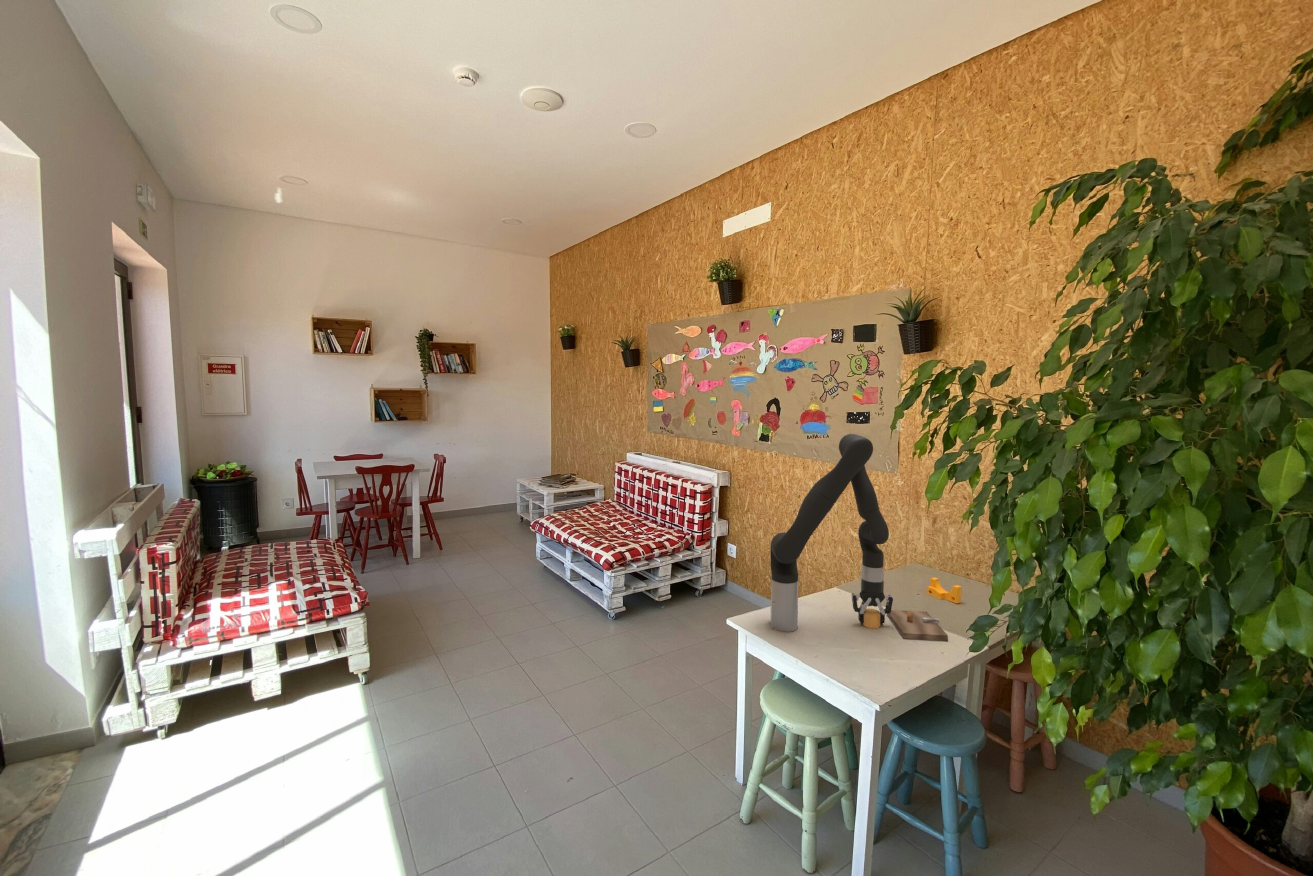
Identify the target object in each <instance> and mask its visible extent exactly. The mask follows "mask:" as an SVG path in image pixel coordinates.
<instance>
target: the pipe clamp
mask: <svg viewBox="0 0 1313 876" xmlns="http://www.w3.org/2000/svg"><path fill="white" fill-rule="evenodd" d="M929 580H930V581H929V585H928V586H926V594H927V595H929V596H932V597H934V598H936V599H938V600H946V601H948V602H951V603H954V604H961V603H962V586H961V585H958V584H956V585H952V588H951V590H950V591H947V590H946V589H944V588H943V587H942V585H941V583H940V578H938V577H936V576H933V577H930V579H929Z"/></svg>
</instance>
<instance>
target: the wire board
mask: <svg viewBox="0 0 1313 876" xmlns="http://www.w3.org/2000/svg"><path fill="white" fill-rule="evenodd" d="M886 616H887V617H888V618H889V620H890V622H891V623H892V625H893V626H894V627H895V629H896V630H897V632H898V633H899V635H900V636H901V638H902V639H904V640H918V641H939V642H948V641H949V635H948V634H947V632H945V630H944V629H943V628H942V627H941V626H940V625H939V624H940V619H939V618H936V617H932V616H931V615H930V613H928V611H920V610H918V611H917V610H903V609H902V610H900V609H898V610H897V609H891V613H890V614H888V613H887V614H886Z"/></svg>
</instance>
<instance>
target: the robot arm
mask: <svg viewBox="0 0 1313 876" xmlns="http://www.w3.org/2000/svg"><path fill="white" fill-rule="evenodd" d="M838 450H839V454H840V455H841V458H840V459H839V461H838V462H837V464H836V465H835V466H834V467H833V469H832V470H830V471H829V472H828V473H826V474H825V475H824V476H822V477H820V478H819V479H818V480H817V481H816V482H815V484H813V486H812V487H811V488H810V490H809V491H808V493H807V494H806V495H805V497H804V498H803V501H802V503H801V505H800V508H799V509H798V512H797V515H796V518H795V519H794V522H793V523H792V525H791V526H790V527H789V528H788V530H787V531H786V532H783V531H782V532H779V533H777V534H775V535H774V536H773V538H772V539H771V541H770V551H769V552H770V555H769V556H770V572H771V576H770V577H771V592H770V594H771V595H770V627H771V630H776V631H779V632H783V633H789V632H794V631H797V629H798V626H799V625H798V624H799V622H798V621H799V616H798V615H799V569H798V562H797V561H798V559H799V557H801V554H802V552H803V551H804V549H805V546H806V545H807V544H808V541H809V540H810V538H811V536H812V534H814V532H815V531H816V529H817V528H819V526H820V524H821V523H822V521H823V520H825V517H826V516H827V515H828V514H829V512H830V511H831V510H832V508H833V507H834V506H835V504H836V503H837V502H838V499H839V498H840V497H841V495H842V494H843V492H845V490H846V488H847V487H848V486H849V484H850V482H851V486H852V489H853V495H854V498H855V499H854V500H855V503H856V504H855V505H856V508H857V512H858V515H859V517H860V518H862V519H863V520H864V521H863V522H861V523H860V525H859V527H858V533H857V534H858V540H859V544H860V549H861V553H862V557H861V558H862V562H861V570H860V592H859V593H851V601H852V609H853V611H854V612H855V613H858V615H857V617H858V621H859V623H860V624H862V625H863V622H864V614H863V612H864V611H865V609H868V607H877V608H878V611H879V612H880V626H883V624H885V622H886V621H885V620H886V617H885V616H886V615H887V613H888V614H890V613H891V610H892V607H893V603H894V598H893V596H892V595H891V594H888V595H886V594H884V593H885V589H884V587H885V586H884V585H885V570H884V569H885V568H884V564H885V563H884V560H885V559H884V558H885V557H884V556H885V555H884V552H883V550H882V549H881V548H879V546H878V545H883V544H885V543H886V542H887V541H888V540H889V536H890V531H889V527H888V524H887V522H886V520H885V518H884V516H883V514H882V512H881V510H880V506H879V501H878V496H877V493H876V491H875V487H874V485H873V483H872V481H871V480H870V479H871V478H870V477H869V475H868V472H867V469H866V464H867V463H868V461H869V460H870V459H871V457H872V455H873V453H874V445H873V442H872V441H871V440H870V439H868V438H867V437H865V436H862V435H859V434H855V433H847V434H846V435H845V434H844V436H843V437H841V439H840V440H839V444H838ZM859 599H861V600H862V601H861V603H860V606H859V607H858V601H859ZM884 600H885V602H886V604H885V608H884V606H883V605H882V602H883V601H884Z"/></svg>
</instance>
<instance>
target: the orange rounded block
mask: <svg viewBox="0 0 1313 876" xmlns="http://www.w3.org/2000/svg"><path fill="white" fill-rule="evenodd" d="M863 614H864V622H863V624H862V625H863V627H866V628H868V629H878V628H880V627H881V625H880V610H879V609H874V608H870V607H869V608H868V607H867V608H866V609H865V611H864V612H863Z"/></svg>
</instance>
